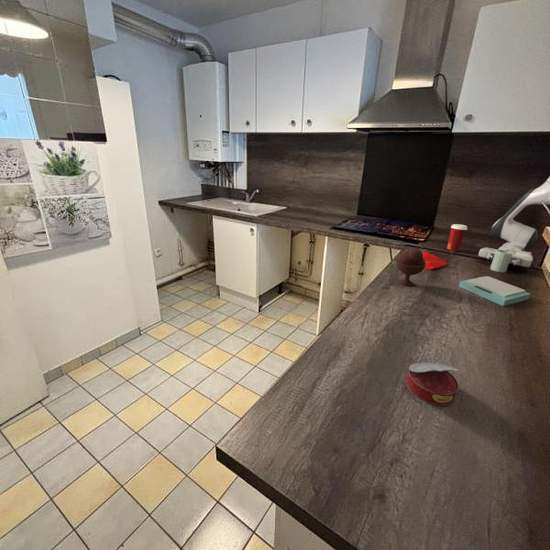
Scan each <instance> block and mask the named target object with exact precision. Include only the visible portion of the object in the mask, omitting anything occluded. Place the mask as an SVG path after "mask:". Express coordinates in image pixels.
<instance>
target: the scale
mask: <svg viewBox="0 0 550 550" xmlns="http://www.w3.org/2000/svg"><path fill="white" fill-rule="evenodd" d="M459 281H460V282H459V285H458V287H459V288H460V289H463V290H465V291H467V292H469V293H473V294H474V295H477V296H479V297H481V298H483V299H485V300H489V301H490V302H492V303H495V304H497V305H499V306H502V307H505V306H510V305H513V304H517V303H520V302H524V301H528V300H529V299H530V297H531V293H530V292H527V291H526V290H525V289H523V288H520V287H518V286H515V285H512V284H510V283H507V282H504V281H502V280H499V279H496V278H494V277H491V276H489V275H486V276H485V275H483V276H480V277H474V278H470V279H465V280H459Z"/></svg>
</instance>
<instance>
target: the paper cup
mask: <svg viewBox="0 0 550 550" xmlns="http://www.w3.org/2000/svg"><path fill="white" fill-rule="evenodd" d="M450 228H451V229H450V233H449V237H448V242H447V247H446V250H447V249H449V250H459V251H460V249H461V246H462V243H463V240H464V237H465V236H466V235H465V234H466V232H467V230H468V226H467V225H465V224H460V223H454V224H451V226H450Z"/></svg>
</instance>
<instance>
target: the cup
mask: <svg viewBox="0 0 550 550" xmlns="http://www.w3.org/2000/svg"><path fill="white" fill-rule="evenodd" d="M512 254H513V253H512V252H510V251H507V250H498V249H497V250H496V252H495V255H494V258H493V259H492V260H491V261H492V262H491V264H490V267H489V269H490V270H491V271H493V272H497V273H507V270H508V268H509V265H510V263H509V262H510V260H511V257H512Z"/></svg>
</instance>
